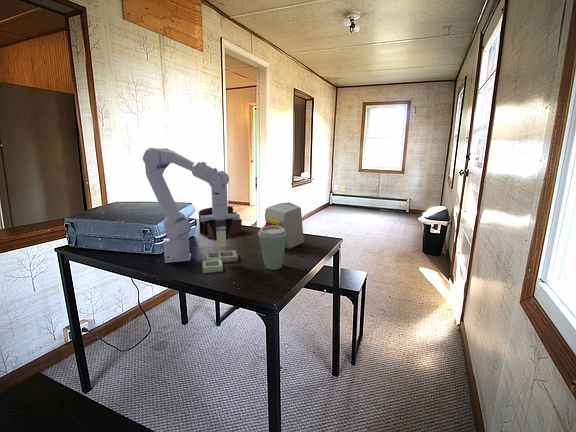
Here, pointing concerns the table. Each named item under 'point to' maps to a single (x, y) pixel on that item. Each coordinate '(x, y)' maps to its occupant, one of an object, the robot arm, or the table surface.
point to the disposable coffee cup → (272, 245)
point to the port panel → (222, 256)
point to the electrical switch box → (286, 222)
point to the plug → (221, 236)
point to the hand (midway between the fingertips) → (221, 238)
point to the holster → (212, 266)
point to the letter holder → (218, 224)
